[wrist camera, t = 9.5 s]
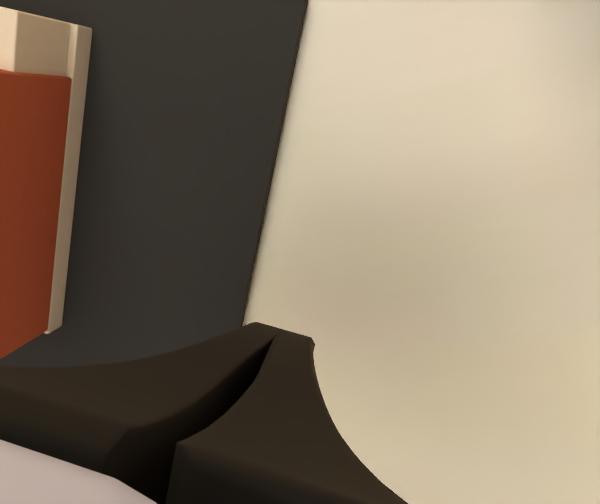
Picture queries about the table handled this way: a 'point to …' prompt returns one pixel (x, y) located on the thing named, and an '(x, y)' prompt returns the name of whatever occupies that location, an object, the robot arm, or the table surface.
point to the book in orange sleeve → (38, 167)
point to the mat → (168, 171)
